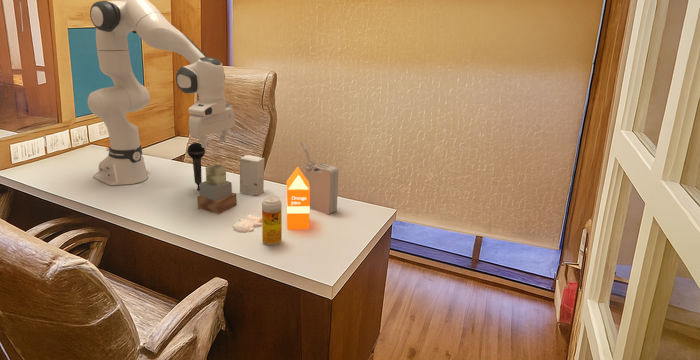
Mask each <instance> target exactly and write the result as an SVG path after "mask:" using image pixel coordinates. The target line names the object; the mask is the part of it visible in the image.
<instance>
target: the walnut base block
mask: <svg viewBox="0 0 700 360" xmlns="http://www.w3.org/2000/svg"><path fill="white" fill-rule="evenodd" d="M237 195H238V194H237V193H236V192H232V195H230V196H228V197H225V198H223V199H220V200H218V201H213V200H210V199H207V198H204V197H201V196H200V195H198V196H197V197H196V198H197V199H196V200H197V209H198V210H201V211H204V212H210V213H213V214H216V215H221V214H223V213H225V212H226V211H228V210H231V209H233V208H234V207H236V206H237V205H238V204H237V203H238V199H237Z"/></svg>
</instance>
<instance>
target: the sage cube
mask: <svg viewBox="0 0 700 360" xmlns="http://www.w3.org/2000/svg"><path fill="white" fill-rule="evenodd" d="M226 168H227V167H226V166H225V165H221V164H217V163H216V164H215V163H214V164H211V165H210V166H207V167H205V181H206V183H208V184H212V185H217V186H218V185H220V184H222V183H224V182H226V181H227V169H226Z"/></svg>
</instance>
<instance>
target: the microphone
mask: <svg viewBox="0 0 700 360" xmlns="http://www.w3.org/2000/svg"><path fill="white" fill-rule="evenodd" d="M186 153H187V155H188V156H189V157H190V158H191V160H192V168H193V179H194V184H196V185H197V188H196V190H197V191H198V192H200V183H202V181H203V180H202V179H203V178H202V158H203V157H204V156H205V154H206V148H202V143H201V142H200V143H199V142H192V143H190V145H189V146H188V147H187V150H186Z"/></svg>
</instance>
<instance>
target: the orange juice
mask: <svg viewBox="0 0 700 360" xmlns="http://www.w3.org/2000/svg"><path fill="white" fill-rule="evenodd" d="M310 209H311V208H310V187H309V182H308V180H307V179H306V177H305V176H304V173H303V172H302V171H301V169H300V167H299V166H297V167H296V168H295V169H294V171H293V172H292V174H291V175H290V176H289V178H288V179H287V180H286V228H287V230H309V229H310Z"/></svg>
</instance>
